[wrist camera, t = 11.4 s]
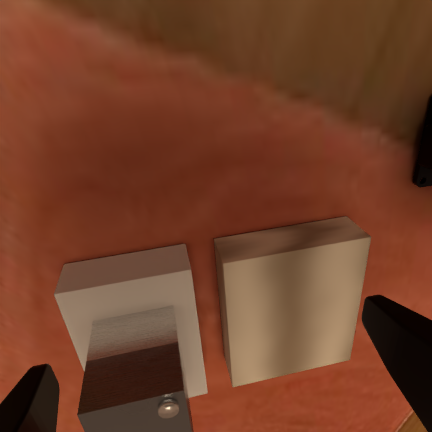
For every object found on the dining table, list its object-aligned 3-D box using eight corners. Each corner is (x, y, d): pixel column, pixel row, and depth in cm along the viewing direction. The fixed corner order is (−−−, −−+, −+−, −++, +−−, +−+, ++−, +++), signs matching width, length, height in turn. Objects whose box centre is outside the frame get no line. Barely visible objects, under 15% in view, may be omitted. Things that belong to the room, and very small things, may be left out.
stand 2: (346, 216, 25) (371, 236, 22) (331, 332, 31) (349, 359, 28) (213, 238, 23) (223, 263, 21) (224, 356, 29) (232, 387, 27)
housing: (173, 305, 22) (184, 396, 16) (185, 376, 25) (199, 471, 19) (92, 321, 21) (76, 421, 15) (116, 392, 24) (110, 495, 19)
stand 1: (185, 243, 23) (191, 269, 21) (201, 361, 29) (207, 393, 26) (63, 264, 22) (53, 294, 19) (105, 382, 28) (102, 417, 25)
